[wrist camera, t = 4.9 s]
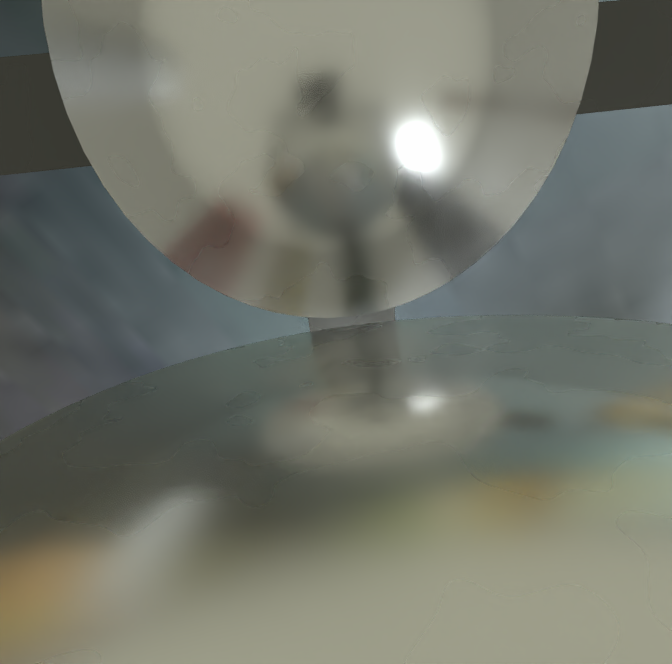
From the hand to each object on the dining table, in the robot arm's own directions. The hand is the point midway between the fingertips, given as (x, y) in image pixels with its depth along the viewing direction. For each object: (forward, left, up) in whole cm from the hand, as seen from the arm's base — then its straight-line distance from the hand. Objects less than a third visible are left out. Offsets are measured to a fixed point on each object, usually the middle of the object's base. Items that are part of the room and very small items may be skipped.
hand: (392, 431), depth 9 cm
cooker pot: (0, -6, -11) cm, 13 cm away
